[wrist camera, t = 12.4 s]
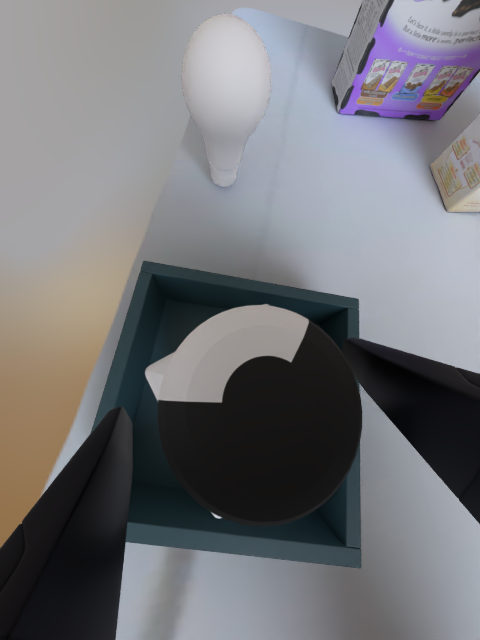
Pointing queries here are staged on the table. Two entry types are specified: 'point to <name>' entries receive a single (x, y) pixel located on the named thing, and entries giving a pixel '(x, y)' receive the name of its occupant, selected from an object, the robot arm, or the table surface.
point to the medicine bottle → (258, 415)
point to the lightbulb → (226, 89)
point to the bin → (142, 408)
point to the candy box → (408, 58)
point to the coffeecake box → (460, 171)
